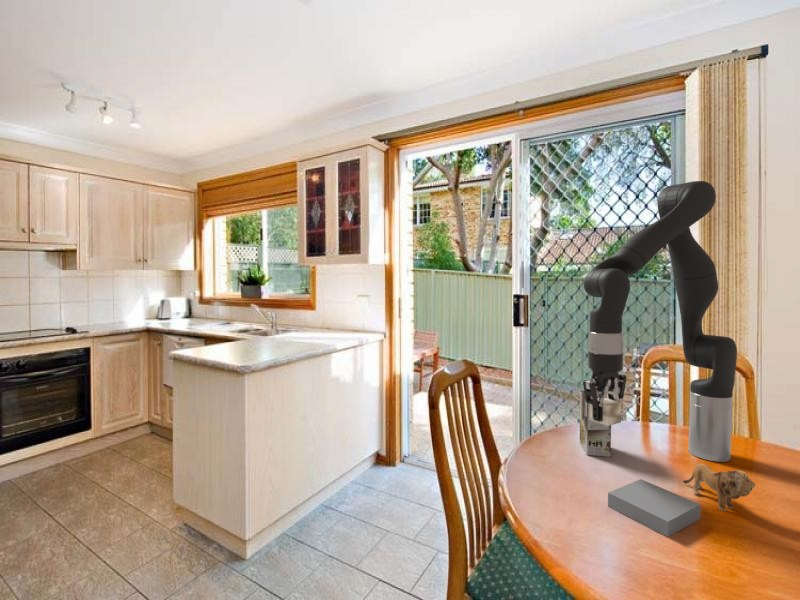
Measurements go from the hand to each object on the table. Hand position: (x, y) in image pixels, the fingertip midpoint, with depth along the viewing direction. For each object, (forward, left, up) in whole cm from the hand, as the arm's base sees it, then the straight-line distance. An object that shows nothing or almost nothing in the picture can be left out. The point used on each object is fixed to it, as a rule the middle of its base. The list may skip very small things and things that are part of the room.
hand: (604, 418), depth 99 cm
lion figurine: (-10, +20, -15) cm, 27 cm away
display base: (+6, +15, -14) cm, 22 cm away
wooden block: (0, 0, -1) cm, 1 cm away
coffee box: (-12, -11, -15) cm, 22 cm away
